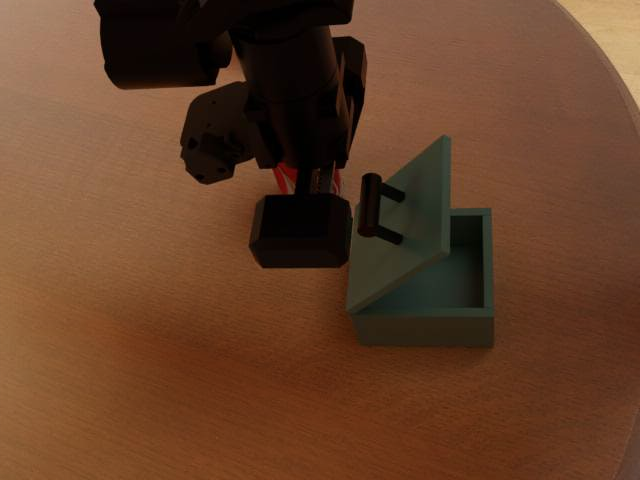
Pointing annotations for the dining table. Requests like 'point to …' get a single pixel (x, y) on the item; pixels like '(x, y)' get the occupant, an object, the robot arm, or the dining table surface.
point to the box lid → (400, 225)
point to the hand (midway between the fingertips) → (333, 213)
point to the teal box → (440, 295)
